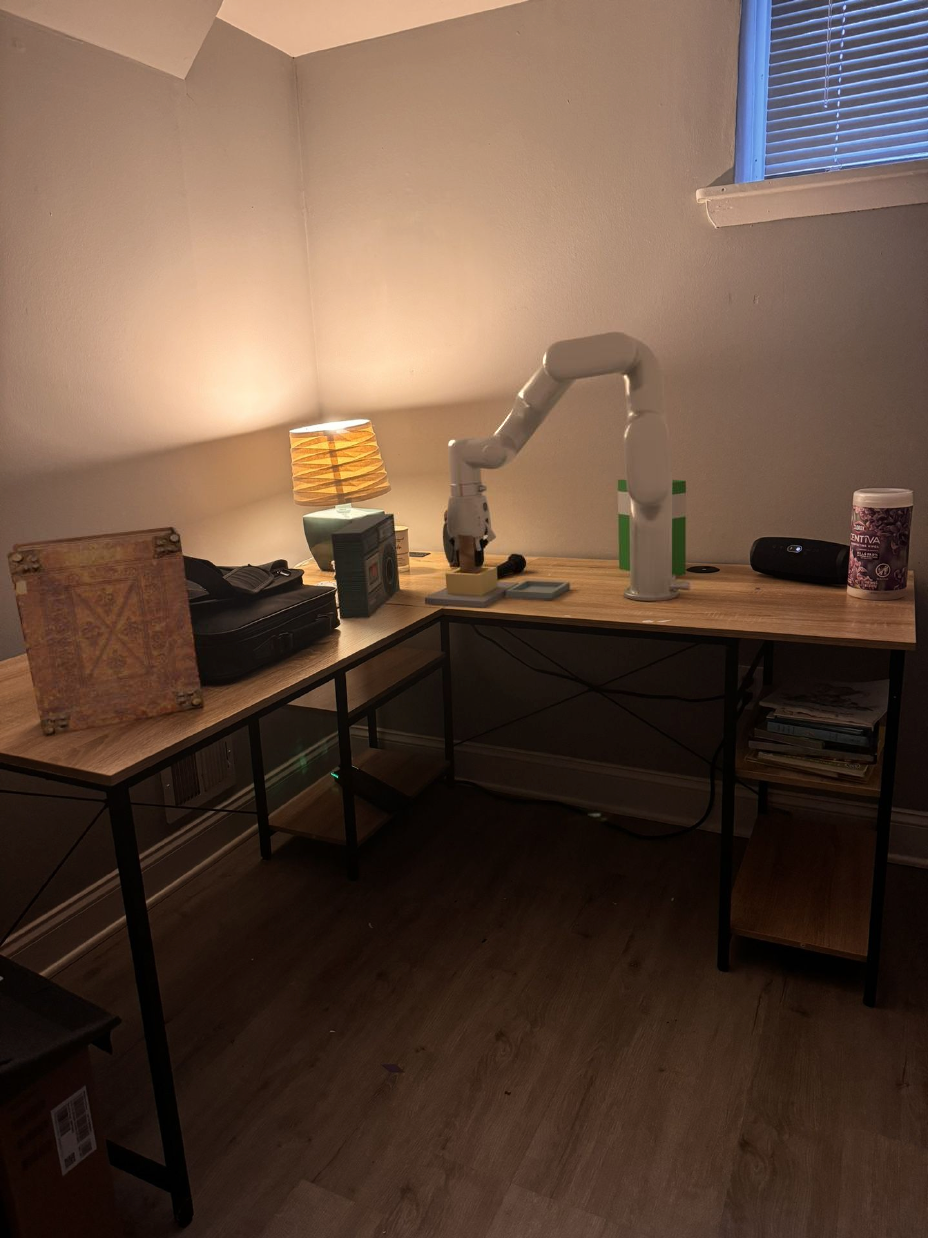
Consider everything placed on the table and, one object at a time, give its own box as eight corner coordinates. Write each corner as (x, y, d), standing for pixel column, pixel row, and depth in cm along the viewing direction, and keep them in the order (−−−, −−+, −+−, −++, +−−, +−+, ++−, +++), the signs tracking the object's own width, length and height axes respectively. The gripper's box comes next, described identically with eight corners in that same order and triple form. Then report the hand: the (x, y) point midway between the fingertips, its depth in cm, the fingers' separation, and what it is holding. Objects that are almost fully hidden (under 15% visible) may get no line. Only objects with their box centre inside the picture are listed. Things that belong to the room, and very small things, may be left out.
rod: (482, 582, 213) (479, 518, 209) (475, 586, 210) (471, 520, 206) (468, 581, 215) (464, 518, 211) (461, 585, 212) (456, 520, 208)
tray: (569, 589, 214) (569, 582, 213) (552, 600, 204) (551, 593, 203) (525, 586, 219) (525, 579, 219) (505, 597, 209) (505, 590, 209)
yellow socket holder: (518, 588, 218) (517, 563, 216) (484, 607, 201) (482, 580, 199) (462, 585, 225) (461, 561, 224) (424, 603, 208) (422, 577, 207)
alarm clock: (441, 567, 251) (436, 498, 246) (464, 564, 253) (460, 496, 248) (455, 576, 238) (450, 503, 232) (480, 572, 240) (476, 501, 234)
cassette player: (368, 618, 199) (360, 532, 194) (340, 619, 200) (331, 533, 195) (399, 589, 226) (393, 513, 221) (374, 590, 228) (367, 514, 222)
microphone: (478, 596, 226) (529, 573, 238) (480, 577, 223) (531, 555, 235) (464, 588, 229) (514, 565, 241) (465, 569, 226) (516, 547, 238)
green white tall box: (619, 568, 234) (617, 479, 228) (640, 564, 237) (639, 476, 231) (663, 578, 219) (663, 483, 213) (685, 574, 222) (685, 480, 216)
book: (41, 737, 137) (4, 552, 130) (45, 719, 146) (10, 544, 138) (205, 707, 146) (179, 532, 139) (199, 691, 155) (175, 526, 147)
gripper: (504, 488, 206) (508, 563, 211) (443, 488, 214) (448, 561, 218) (491, 492, 200) (495, 569, 204) (428, 492, 207) (433, 567, 212)
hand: (470, 564), depth 211 cm, fingers closed on rod, 4 cm apart
